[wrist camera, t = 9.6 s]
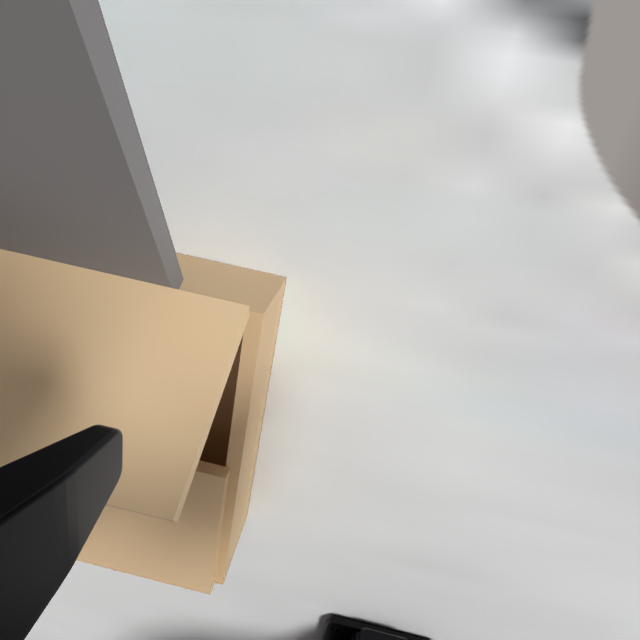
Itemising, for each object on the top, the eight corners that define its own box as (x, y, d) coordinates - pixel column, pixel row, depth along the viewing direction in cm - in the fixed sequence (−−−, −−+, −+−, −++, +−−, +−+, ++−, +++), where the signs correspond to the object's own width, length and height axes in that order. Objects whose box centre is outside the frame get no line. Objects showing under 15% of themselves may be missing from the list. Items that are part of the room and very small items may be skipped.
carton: (246, 517, 25) (218, 596, 21) (-66, 440, 26) (-152, 501, 22) (286, 277, 20) (259, 321, 15) (-116, 187, 20) (-247, 205, 16)
